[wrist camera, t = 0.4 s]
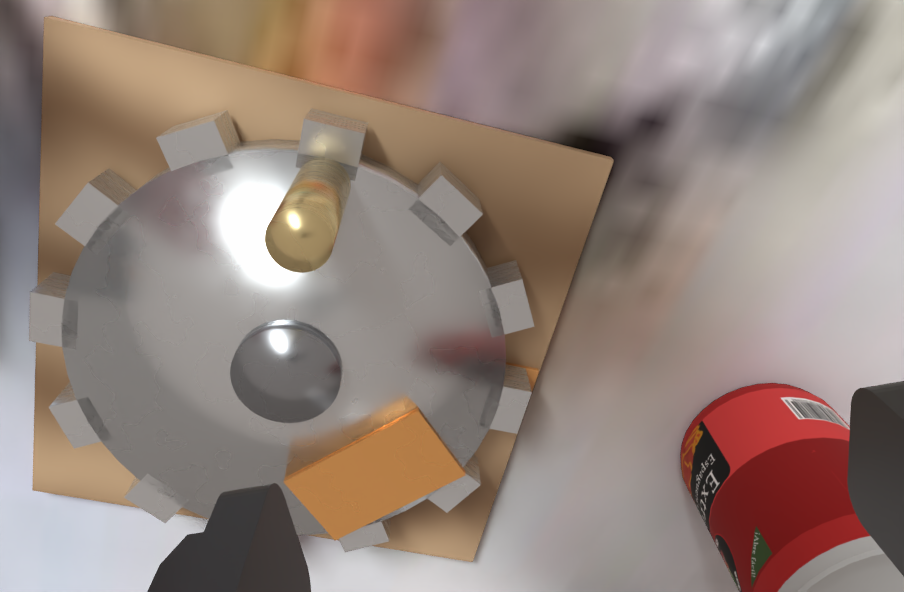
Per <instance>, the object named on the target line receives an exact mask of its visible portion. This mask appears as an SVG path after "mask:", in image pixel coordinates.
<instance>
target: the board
mask: <svg viewBox="0 0 904 592" xmlns="http://www.w3.org/2000/svg"><path fill="white" fill-rule="evenodd" d="M311 108H312V109H316V110H320V111H324V112H328V113H332V114H336V115H340V116H344V117H348V118H352V119H356V120H361V121H365V122H368V126H367V131H366V136H365V141H364V146H363V150H362V154H363V155H365V156H367V157H369V158H372V159H374V160H376V161H378V162H381V163H383V164H385V165H387V166H389V167H391V168H393V169H395V170H396V171H398V172H400V173H401V174H403V175H404V176H406V177H408V178H409V179H411V180H413V181H414V182H416V183H417V184H419V183H420V182H421V181H422V179H423V178H424V177H425V176H426V175H427V174H428V173H429V172H430V171H431V170H432V169H433V168H434V167H435V166H436V165H437V164H438V163H439V162H441V163H442V164H443V165H444V166H445V167H446V168H447V169H448V170H450V171H451V172H452V173H453V174H454V175H455V176H456V177H457V178H458V179H459V180H460V181H461V182H462V183H463V184H464V185H465V186H466V187H467V188H468V189H470V190H471V191H472V192H473V193H474V194H475V195H476V196H477V197H478V198H479V200H480V204H481V208H482V212H483V215H482V216H481V217H480V218H479V219H478V220H477V221H476V222H475V223H474V224H473V225H472V226H471V227H470V228H469V229H467V230H466V233H467V234H468V236H469V237H470V238H471V240H472V241H473V243H474V244H475V246H476V248H477V250H478V252H479V254H480V255H481V257H482V259H483V261H484V263H485V265H486V267H487V268H490V267H493V266H497V265H501V264H504V263H508V262H512V261H515V260H516V261H517V265H518V268H519V271H520V274H521V277H522V280H523V284H524V288H525V292H526V295H527V299H528V303H529V307H530V311H531V315H532V319H533V322H534V326H535V327H531V328H527V329H523V330H520V331H516V332H512V333H508V334H505V349H506V365H511V366H516V367H521V368H526V372H527V376H528V379H529V383H530V387H531V391H532V392H533V389H534V386H535V383H536V380H537V377H538V375H539V372H540V369H541V366H542V363H543V360H544V358H545V355H546V352H547V349H548V346H549V343H550V341H551V338H552V335H553V332H554V329H555V326H556V324H557V321H558V318H559V315H560V312H561V309H562V307H563V304H564V301H565V298H566V295H567V292H568V290H569V287H570V284H571V281H572V278H573V275H574V272H575V270H576V267H577V264H578V261H579V258H580V255H581V253H582V250H583V247H584V244H585V241H586V238H587V236H588V233H589V230H590V227H591V224H592V221H593V219H594V216H595V213H596V210H597V207H598V204H599V202H600V199H601V196H602V193H603V190H604V187H605V184H606V182H607V179H608V176H609V173H610V170H611V167H612V165H613V162H614V160H613V159H612V158H611V157H609V156H605V155H601V154H597V153H593V152H589V151H585V150H581V149H577V148H573V147H569V146H565V145H561V144H557V143H553V142H549V141H545V140H541V139H537V138H533V137H529V136H525V135H521V134H517V133H514V132H510V131H506V130H502V129H498V128H494V127H490V126H486V125H482V124H478V123H474V122H470V121H466V120H462V119H458V118H454V117H450V116H446V115H442V114H438V113H434V112H430V111H426V110H422V109H418V108H414V107H410V106H406V105H402V104H398V103H395V102H391V101H387V100H383V99H379V98H375V97H371V96H367V95H363V94H359V93H355V92H351V91H347V90H343V89H339V88H335V87H331V86H327V85H323V84H319V83H315V82H311V81H307V80H303V79H299V78H295V77H291V76H287V75H283V74H279V73H276V72H272V71H268V70H264V69H260V68H256V67H252V66H248V65H244V64H240V63H236V62H232V61H228V60H224V59H220V58H216V57H212V56H208V55H204V54H200V53H196V52H192V51H188V50H184V49H180V48H176V47H172V46H168V45H164V44H161V43H157V42H153V41H149V40H145V39H141V38H137V37H133V36H129V35H125V34H121V33H117V32H113V31H109V30H105V29H101V28H97V27H93V26H89V25H85V24H81V23H77V22H73V21H69V20H65V19H61V18H57V17H53V16H49V17H44V38H43V80H42V121H41V162H40V203H39V244H38V285H39V284H40V283H41V282H42V281H44V280H45V279H46V278H47V277H48V276H50V275H51V274H52V273H53V272H57V273H61V274H66V275H71V273H72V271H73V269H74V266H75V264H76V262H77V260H78V258H79V256H80V254H81V252H82V250H83V248H84V245H82V244H81V243H80V242H78V241H77V240H76V239H74V238H73V237H72V236H70V235H69V234H68V233H66V232H65V231H63V230H62V229H61V228H59V227H58V226H57V225H55V223H56V222H57V221H58V219H59V218H60V217H61V216H62V214H63V213H64V212H65V211H66V209H67V208H68V207H69V206H70V204H71V203H72V202H73V201H74V199H75V198H76V197H77V196H78V194H79V193H80V192H81V191H82V189H83V188H84V187H85V186H86V184H87V183H88V182H89V181H91V180H92V179H94V178H95V177H97V176H98V175H100V174H101V173H103V172H104V171H106V170H107V169H109V168H110V169H111V170H112V171H113V172H115V173H116V174H117V175H119V176H120V177H121V178H122V179H124V180H125V181H126V182H127V183H129V184H130V185H131V186H133V187H134V188H135V189H136V190H137V189H139V188H140V187H141V186H143V185H144V184H145V183H147V182H148V181H149V180H151V179H152V178H153V177H155V176H156V175H157V174H159V173H160V172H162V171H163V170H165V169H167V168H169V165H168V163H167V161H166V159H165V156H164V154H163V152H162V150H161V148H160V145H159V143H158V141H157V139H156V137H158V136H159V135H161V134H162V133H164V132H165V131H167V130H168V129H170V128H171V127H173V126H175V125H179V124H182V123H186V122H189V121H192V120H196V119H199V118H202V117H206V116H209V115H212V114H216V113H219V112H222V111H226V110H228V112H229V115H230V117H231V120H232V122H233V125H234V127H235V130H236V132H237V135H238V137H239V139H240V142H244V141H256V140H268V139H283V140H300V138H301V132H302V126H303V120H304V118H305V116H306V115H307V114H308V112H309V111H310V109H311ZM69 382H70V380H69V377H68V375H67V370H66V365H65V359H64V354H63V349H62V347H59V346H54V345H48V344H43V343H38V342H36V368H35V409H34V450H33V490H34V491H40V492H46V493H52V494H58V495H64V496H70V497H77V498H83V499H89V500H95V501H101V502H107V503H113V504H120V505H126V506H132V507H138V506H137V505H135V504H134V503H132V502H130V501H129V500H127V499H125V498H124V496H125V495H126V493H127V491H128V489H129V487H130V486H131V484H132V482H133V480H134V478H135V476H134V475H133V474H132V473H131V472H130V471H129V470H128V469H126V468H125V467H124V466H123V465H122V464H121V463H120V462H119V461H118V460H117V459H116V458H115V457H114V455H113V454H112V453H111V452H110V451H109V450H108V449H107V448H106V446H105V445H104V444H103V443H102V442H97V443H94V444H90V445H86V446H82V447H79V448H75V449H74V448H73V446H72V445H71V443H70V441H69V440H68V438H67V436H66V435H65V433H64V432H63V430H62V428H61V427H60V425H59V424H58V422H57V420H56V419H55V417H54V415H53V414H52V412H51V411H50V409H49V406H50V405H51V404H52V403H53V401H54V400H55V399H56V398H57V397H58V395H59V394H60V393H61V392H62V391H63V389H64V388H65V387H66V386H67V385H68V383H69ZM531 395H532V393H531ZM530 397H531V396H530ZM529 400H530V399H529ZM528 403H529V402H528ZM527 406H528V405H527ZM526 409H527V408H526ZM525 412H526V410H525ZM524 414H525V413H524ZM523 417H524V416H523ZM522 420H523V419H522ZM521 423H522V422H521ZM520 426H521V425H520ZM519 429H520V427H519ZM518 431H519V430H518ZM517 434H518V433H517ZM517 434H515V433H510V432H504V431H499V430H494V429H489V431H488V432H487V434H486V436H485V437H484V439H483V441H482V442H481V444H480V446H479V447H478V449H477V451H476V452H475V453H474V455H475V456H476V457H478V465H479V474H480V482H481V485H480V486H479V487H478V488H477V489H475V490H474V491H473V492H472V493H470V494H469V495H468V496H467V497H466V498H464V499H463V500H462V501H461V502H460V503H458V504H457V505H456V506H455V507H454V508H452V509H451V510H450V511H449V512H448V513H446V512H445V511H444V510H442V509H441V508H440V507H438V506H437V505H436V504H434V503H433V502H431V501H430V500H429V499H425V500H424V501H422V502H420V503H418V504H417V505H415V506H413V507H411V508H410V509H408V510H406V511H404V512H402V513H400V514H397V515H395V516H393V517H391V522H390V541H389V542H385V543H380V544H376V545H372V546H377V547H383V548H389V549H395V550H401V551H407V552H414V553H420V554H426V555H432V556H438V557H444V558H450V559H456V560H463V561H469V562H473V559H474V556H475V553H476V551H477V548H478V545H479V542H480V539H481V536H482V534H483V531H484V528H485V525H486V522H487V519H488V517H489V514H490V511H491V508H492V505H493V502H494V500H495V497H496V494H497V491H498V488H499V485H500V483H501V480H502V477H503V474H504V471H505V468H506V465H507V463H508V460H509V457H510V454H511V451H512V448H513V446H514V443H515V440H516V437H517ZM138 508H140V507H138ZM175 514H181V515H187V516H193V517H199V518H205V517H203V516H201V515H198V514H196V513H194V512H192V511H189V510H187V509H185V508H183V507H182V508H181V509H179V510H178V511H177V512H176V513H175ZM205 519H208V518H205ZM309 536H316V537H322V538H328V539H333V538H332V537H331V535H330V534H329V533H326V534H315V535H309ZM337 540H339V539H337Z"/></svg>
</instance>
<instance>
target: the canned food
mask: <svg viewBox="0 0 904 592" xmlns="http://www.w3.org/2000/svg"><path fill="white" fill-rule="evenodd" d="M849 436H850V426H849V425H848V424H847V423H846V422H845V421H844V420H843V419H842V418H841V417H840V416H839V415H838V414H837V413H836V412H835V410H834V409H833V408H832V407H830V406H829V405H828V404H827V403H826V402H825V401H824V400H822V399H820V398H818V397H817V396H815V395H813V394H811V393H809V392H807V391H805V390H803V389H800V388H797V387H794V386H790V385H787V384H777V383H766V384H756V385H751V386H747V387H742V388H740V389H737V390H735V391H732V392H729V393H727V394H725V395H724V396H722V397H720V398H718V399H717V400H715V401H713V402H712V403H711V404H710V405H708V406H707V407H706V408H705V409H703V410H702V411H701V412H700V413H699V415H698V416H697V417H696V418H695V419H694V420H693V421H692V423H691V425H690V426H689V428H688V430H687V431H686V433H685V436H684V439H683V442H682V447H681V469H682V476H683V479H684V481H685V484H686V486H687V488H688V490H689V492H690V494H691V496H692V498H693V500H694V502H695V504H696V506H697V508H698V510H699V512H700V514H701V516H702V518H703V520H704V522H705V524H706V526H707V528H708V530H709V532H710V534H711V536H712V538H713V540H714V542H715V544H716V546H717V548H718V550H719V552H720V554H721V556H722V558H723V560H724V562H725V564H726V566H727V568H728V570H729V572H730V574H731V576H732V578H733V580H734V582H735V584H736V586H737V588H738V590H739V592H904V576H903V575H902V574H901V573H900V572H899V570H898V569H897V568H896V567H895V565H894V564H893V563H892V562H891V560H890V559H889V558H888V557H887V556H886V554H885V553H884V552H883V551H882V549H881V548H880V547H879V546H878V544H877V543H876V542H875V541H874V540H873V538H872V537H871V536H870V535H869V533H868V532H867V531H866V530H865V528H864V527H863V526H862V524H861V522H860V521H859V519H858V517H857V515H856V513H855V511H854V508H853V506H852V503H851V500H850V496H849V491H848V483H847V476H848V456H849Z"/></svg>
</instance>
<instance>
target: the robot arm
mask: <svg viewBox="0 0 904 592" xmlns="http://www.w3.org/2000/svg"><path fill="white" fill-rule="evenodd" d="M847 483H848V491H849V496H850V500H851V503H852V506H853V508H854V511H855V513H856V515H857V517H858V519H859V521H860V522H861V524H862V526H863V527H864V528H865V530H866V531H867V532H868V533H869V535H870V536H871V537H872V538H873V540H874V541H875V542H876V543H877V544H878V546H879V547H880V548H881V549H882V551H883V552H884V553H885V554H886V556H887V557H888V558H889V559H890V560H891V562H892V563H893V564H894V565H895V567H896V568H897V569H898V570H899V572H900V573H901V574H902V575H903V576H904V381H902V382H896V383H889V384H883V385H877V386H871V387H865V388H859V389H858V390H856V392H855V393H854V395H853V397H852V401H851V415H850V436H849V456H848V476H847ZM148 592H311V585H310V577H309V572H308V567H307V564H306V561H305V557H304V554H303V551H302V548H301V545H300V542H299V539H298V536H297V533H296V530H295V527H294V524H293V521H292V518H291V515H290V512H289V509H288V506H287V503H286V500H285V497H284V494H283V492H282V490H281V488H280V487H279V485H278V484H276V483H273V484H267V485H261V486H255V487H249V488H243V489H237V490H231V491H225V492H222V493H221V494H220V496H219V497H218V499H217V502H216V504H215V506H214V509H213V511H212V514H211V516H210V518H209V521H208V523H207V526H206V528H205V531H204V532H202V533H196V534H189V535H187V536H186V537H185V538H184V539H183V540H182V541H181V542H180V543H179V545H178V546H177V547H176V548H175V549H174V550H173V551H172V552H171V553H170V554H169V555H168V557H167V558H166V559H165V560H164V561H163V562H162V563H161V564H160V566H159V568H158V570H157V572H156V574H155V576H154V579H153V581H152V583H151V585H150V587H149V589H148Z"/></svg>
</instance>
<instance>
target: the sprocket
mask: <svg viewBox="0 0 904 592" xmlns="http://www.w3.org/2000/svg"><path fill="white" fill-rule="evenodd" d="M367 126H368V122H365V121H361V120H356V119H352V118H348V117H344V116H340V115H336V114H332V113H328V112H324V111H320V110H316V109H312V108H311V109H310V111H309V112H308V114H307V115H306V116H305V118H304V120H303V126H302V132H301V138H300V140H283V139H268V140H256V141H244V142H240V139H239V137H238V135H237V132H236V130H235V127H234V125H233V122H232V120H231V117H230V115H229V112H228V110H226V111H222V112H219V113H216V114H212V115H209V116H206V117H202V118H199V119H196V120H192V121H189V122H186V123H182V124H179V125H175V126H173V127H171V128H170V129H168V130H167V131H165V132H164V133H162V134H161V135H159V136H158V137H156V139H157V141H158V143H159V145H160V148H161V150H162V152H163V154H164V156H165V159H166V161H167V163H168V165H169V168H167V169H165V170H163V171H162V172H160V173H159V174H157V175H156V176H155V177H153V178H152V179H151V180H149V181H148V182H147V183H145V184H144V185H143V186H141V187H140V188H139V189H137V190H136V189H135V188H134V187H133V186H131V185H130V184H129V183H127V182H126V181H125V180H124V179H122V178H121V177H120V176H119V175H117V174H116V173H115V172H113V171H112V170H111V169H110V168H109V169H107V170H106V171H104V172H103V173H101V174H100V175H98V176H97V177H95V178H94V179H92V180H91V181H89V182H88V183H87V184H86V186H85V187H84V188H83V189H82V191H81V192H80V193H79V194H78V196H77V197H76V198H75V199H74V201H73V202H72V203H71V204H70V206H69V207H68V208H67V209H66V211H65V212H64V213H63V214H62V216H61V217H60V218H59V219H58V221H57V222H56V223H55V225H57V226H58V227H59V228H61V229H62V230H63V231H65V232H66V233H68V234H69V235H70V236H72V237H73V238H74V239H76V240H77V241H78V242H80V243H81V244H82V245H84V248H83V250H82V252H81V254H80V256H79V258H78V260H77V262H76V264H75V266H74V269H73V271H72V273H71V275H66V274H61V273H57V272H53V273H52V274H51V275H50V276H48V277H47V278H46V279H45V280H44V281H42V282H41V283H40V284H39V285H38V286H37V287H35V288H34V289H33V290H32V291H31V292H30V323H29V341H33V342H38V343H43V344H48V345H54V346H59V347H62V349H63V354H64V359H65V365H66V370H67V375H68V377H69V380H70V382H69V383H68V385H67V386H66V387H65V388H64V389H63V391H62V392H61V393H60V394H59V395H58V397H57V398H56V399H55V400H54V401H53V403H52V404H51V405H50V406H49V409H50V411H51V412H52V414H53V415H54V417H55V419H56V420H57V422H58V424H59V425H60V427H61V428H62V430H63V432H64V433H65V435H66V436H67V438H68V440H69V441H70V443H71V445H72V446H73V448H74V449H75V448H79V447H82V446H86V445H90V444H94V443H97V442H102V443H103V444H104V445H105V446H106V448H107V449H108V450H109V451H110V452H111V453H112V454H113V455H114V457H115V458H116V459H117V460H118V461H119V462H120V463H121V464H122V465H123V466H124V467H125V468H126V469H128V470H129V471H130V472H131V473H132V474H133V475H134V476H135V478H134V480H133V482H132V484H131V486H130V487H129V489H128V491H127V493H126V495H125V496H124V498H125V499H127V500H129V501H130V502H132V503H134V504H135V505H137V506H138V507H140V508H142V509H143V510H145V511H146V512H148V513H150V514H151V515H153V516H154V517H156V518H158V519H159V520H161V521H162V522H164V523H166V522H167V521H168V520H169V519H170V518H171V517H172V516H173V515H174V514H175V513H176V512H177V511H178V510H179V509H181V508H182V507H183V508H185V509H187V510H189V511H192V512H194V513H196V514H198V515H201V516H203V517H205V518H208V519H209V518H210V516H211V514H212V511H213V509H214V506H215V504H216V502H217V499H218V497H219V496H220V494H221V493H222V492H225V491H231V490H237V489H243V488H249V487H255V486H261V485H267V484H273V483H276V484H278V485H279V487H280V488H281V490H282V492H283V494H284V497H285V500H286V503H287V506H288V509H289V512H290V515H291V518H292V521H293V524H294V527H295V530H296V533H297V535H315V534H326V533H329V534H330V535H331V537H332V538H333V539H334V540H337V539H339V540H340V542H341V544H342V547H343V549H344V551H345V552H348V551H352V550H356V549H360V548H364V547H368V546H372V545H376V544H380V543H385V542H389V541H390V522H391V517H393V516H395V515H397V514H400V513H402V512H404V511H406V510H408V509H410V508H411V507H413V506H415V505H417V504H418V503H420V502H422V501H424V500H425V499H429V500H430V501H431V502H433V503H434V504H436V505H437V506H438V507H440V508H441V509H442V510H444V511H445V512H446V513H448V512H449V511H450V510H451V509H452V508H454V507H455V506H456V505H457V504H458V503H460V502H461V501H462V500H463V499H464V498H466V497H467V496H468V495H469V494H470V493H472V492H473V491H474V490H475V489H477V488H478V487H479V486H480V485H481V482H480V474H479V465H478V457H476V456H475V455H474V453H475V452H476V451H477V449H478V447H479V446H480V444H481V442H482V441H483V439H484V437H485V436H486V434H487V432H488V431H489V429H494V430H499V431H504V432H510V433H515V434H517V433H518V430H519V427H520V425H521V422H522V419H523V416H524V413H525V410H526V408H527V405H528V402H529V399H530V396H531V393H532V391H531V387H530V383H529V379H528V376H527V372H526V368H521V367H516V366H511V365H506V349H505V334H508V333H512V332H516V331H520V330H523V329H527V328H531V327H535V326H534V322H533V319H532V315H531V311H530V307H529V303H528V299H527V295H526V292H525V288H524V284H523V280H522V277H521V274H520V271H519V268H518V265H517V261H516V260H515V261H512V262H508V263H504V264H501V265H497V266H493V267H490V268H487V267H486V265H485V263H484V261H483V259H482V257H481V255H480V254H479V252H478V250H477V248H476V246H475V244H474V243H473V241H472V240H471V238H470V237H469V236H468V234H467V233H466V230H467V229H469V228H470V227H471V226H472V225H473V224H474V223H475V222H476V221H477V220H478V219H479V218H480V217H481V216H482V215H483V212H482V208H481V204H480V200H479V198H478V197H477V196H476V195H475V194H474V193H473V192H472V191H471V190H470V189H468V188H467V187H466V186H465V185H464V184H463V183H462V182H461V181H460V180H459V179H458V178H457V177H456V176H455V175H454V174H453V173H452V172H451V171H450V170H448V169H447V168H446V167H445V166H444V165H443V164H442V163H441V162H439V163H438V164H437V165H436V166H435V167H434V168H433V169H432V170H431V171H430V172H429V173H428V174H427V175H426V176H425V177H424V178H423V179H422V181H421V182H420V183H419V184H417V183H416V182H414V181H413V180H411V179H409V178H408V177H406V176H404V175H403V174H401V173H400V172H398V171H396V170H395V169H393V168H391V167H389V166H387V165H385V164H383V163H381V162H378V161H376V160H374V159H372V158H369V157H367V156H365V155H363V154H362V150H363V146H364V141H365V136H366V131H367Z"/></svg>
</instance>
